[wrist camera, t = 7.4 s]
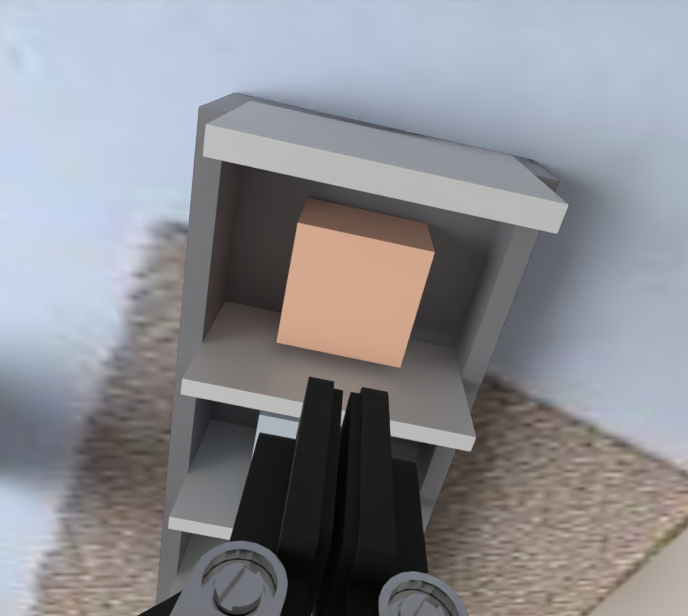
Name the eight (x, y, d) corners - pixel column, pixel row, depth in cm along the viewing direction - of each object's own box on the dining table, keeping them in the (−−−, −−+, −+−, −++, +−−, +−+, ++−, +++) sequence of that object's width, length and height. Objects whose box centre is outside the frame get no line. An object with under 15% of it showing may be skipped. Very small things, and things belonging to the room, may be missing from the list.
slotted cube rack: (234, 92, 20) (173, 116, 14) (532, 160, 20) (598, 211, 14) (176, 602, 32) (132, 730, 26) (363, 635, 32) (361, 769, 27)
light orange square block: (307, 197, 20) (297, 222, 17) (426, 223, 20) (434, 252, 18) (288, 305, 22) (276, 342, 19) (397, 327, 22) (400, 367, 19)
